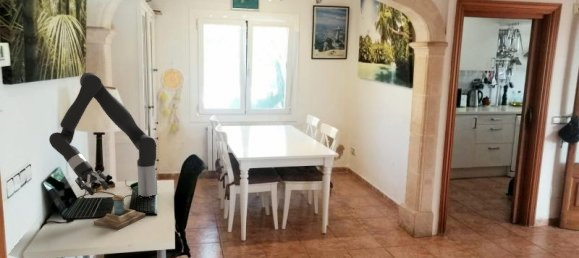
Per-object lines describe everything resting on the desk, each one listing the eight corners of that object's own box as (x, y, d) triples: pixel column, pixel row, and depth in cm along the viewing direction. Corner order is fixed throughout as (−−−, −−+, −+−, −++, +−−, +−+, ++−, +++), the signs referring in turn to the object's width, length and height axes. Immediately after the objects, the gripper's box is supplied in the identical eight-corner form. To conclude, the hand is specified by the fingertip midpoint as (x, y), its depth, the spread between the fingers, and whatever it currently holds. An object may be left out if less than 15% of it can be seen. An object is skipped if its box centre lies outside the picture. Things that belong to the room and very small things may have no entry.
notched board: (122, 211, 221) (122, 203, 220) (145, 216, 215) (145, 208, 215) (93, 224, 204) (93, 216, 204) (117, 230, 199) (117, 221, 198)
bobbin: (119, 214, 213) (118, 194, 211) (128, 216, 211) (127, 195, 209) (111, 218, 208) (109, 197, 206) (120, 220, 206) (118, 199, 204)
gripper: (71, 164, 208) (92, 191, 206) (95, 157, 221) (115, 182, 219) (64, 174, 211) (84, 200, 209) (88, 166, 224) (107, 191, 222)
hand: (100, 191), depth 214 cm, fingers open, 8 cm apart
